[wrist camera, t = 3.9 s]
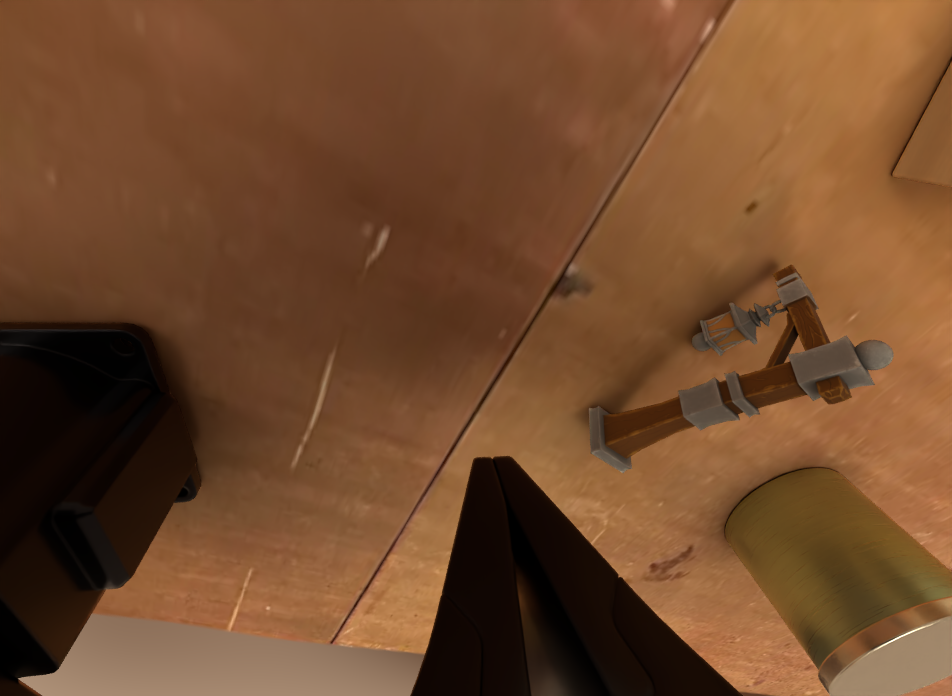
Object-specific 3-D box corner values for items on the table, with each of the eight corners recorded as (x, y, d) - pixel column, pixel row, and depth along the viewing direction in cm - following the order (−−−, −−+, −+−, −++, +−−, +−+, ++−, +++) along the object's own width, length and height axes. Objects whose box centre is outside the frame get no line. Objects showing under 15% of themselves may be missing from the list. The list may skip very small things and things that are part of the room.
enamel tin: (701, 558, 22) (800, 714, 16) (752, 467, 19) (895, 623, 13) (811, 548, 23) (937, 691, 17) (876, 460, 20) (1056, 602, 14)
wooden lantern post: (841, 270, 13) (923, 395, 10) (614, 375, 18) (624, 479, 15) (816, 233, 12) (896, 357, 9) (586, 354, 17) (590, 459, 14)
